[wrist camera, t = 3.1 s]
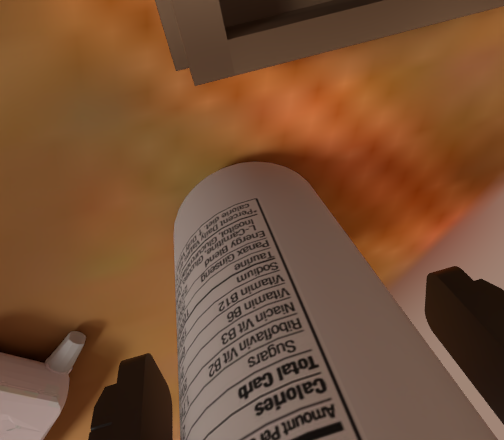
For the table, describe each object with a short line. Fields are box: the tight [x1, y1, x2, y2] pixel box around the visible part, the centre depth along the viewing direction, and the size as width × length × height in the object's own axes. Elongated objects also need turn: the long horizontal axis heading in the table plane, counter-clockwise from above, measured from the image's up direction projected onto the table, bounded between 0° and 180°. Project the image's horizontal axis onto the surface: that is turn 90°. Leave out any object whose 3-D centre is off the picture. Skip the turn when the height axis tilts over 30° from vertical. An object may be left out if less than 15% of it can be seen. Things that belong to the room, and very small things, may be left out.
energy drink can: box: [174, 161, 498, 440], centre depth 10 cm, size 6×6×15 cm
